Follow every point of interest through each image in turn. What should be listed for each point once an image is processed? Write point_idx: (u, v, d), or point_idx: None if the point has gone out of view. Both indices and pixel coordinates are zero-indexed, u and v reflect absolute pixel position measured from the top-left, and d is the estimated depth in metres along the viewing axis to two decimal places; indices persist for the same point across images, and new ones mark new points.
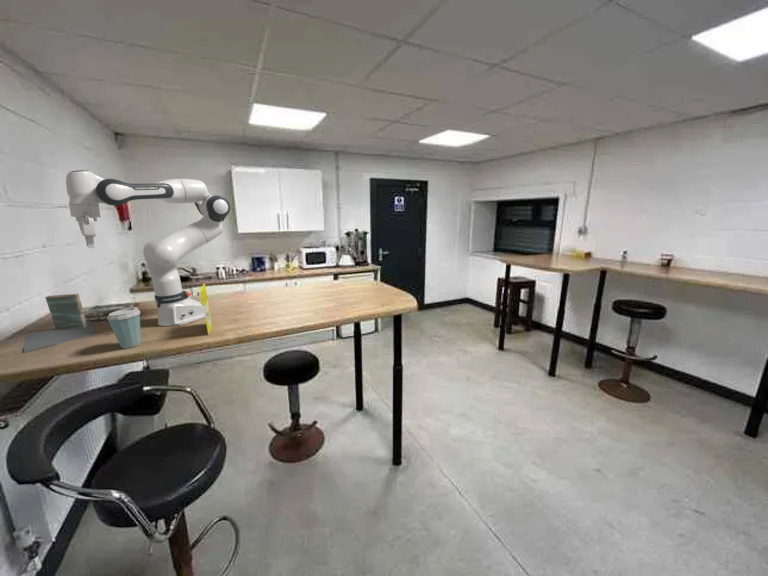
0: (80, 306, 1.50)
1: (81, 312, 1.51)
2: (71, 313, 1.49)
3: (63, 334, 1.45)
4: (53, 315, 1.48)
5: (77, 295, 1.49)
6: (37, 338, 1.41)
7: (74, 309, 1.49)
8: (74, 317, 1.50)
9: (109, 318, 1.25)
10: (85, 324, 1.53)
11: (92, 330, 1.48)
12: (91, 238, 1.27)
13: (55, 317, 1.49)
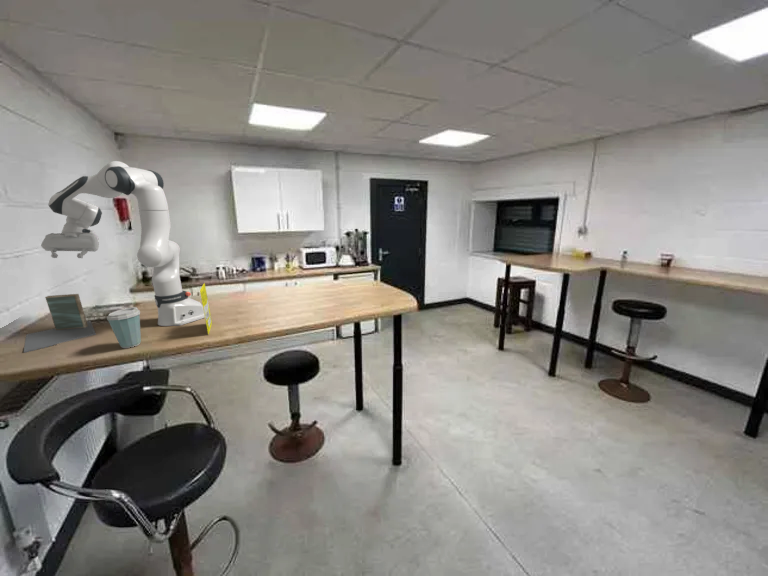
0: (80, 306, 1.50)
1: (81, 312, 1.51)
2: (71, 313, 1.49)
3: (63, 334, 1.45)
4: (53, 315, 1.48)
5: (77, 295, 1.49)
6: (37, 338, 1.41)
7: (74, 309, 1.49)
8: (74, 317, 1.50)
9: (109, 318, 1.25)
10: (85, 324, 1.53)
11: (92, 330, 1.48)
12: None
13: (55, 317, 1.49)
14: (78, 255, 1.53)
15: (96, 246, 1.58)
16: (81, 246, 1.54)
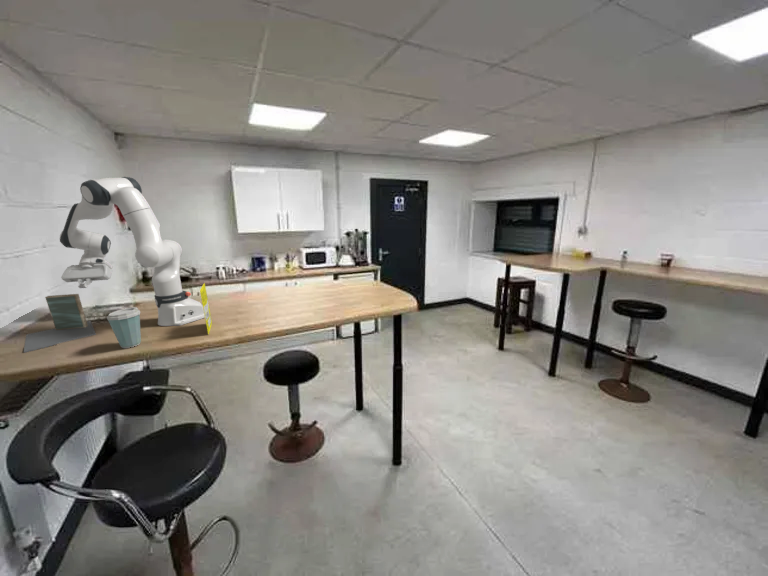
0: (80, 306, 1.50)
1: (81, 312, 1.51)
2: (71, 313, 1.49)
3: (63, 334, 1.45)
4: (53, 315, 1.48)
5: (77, 295, 1.49)
6: (37, 338, 1.41)
7: (74, 309, 1.49)
8: (74, 317, 1.50)
9: (109, 318, 1.25)
10: (85, 324, 1.53)
11: (92, 330, 1.48)
12: None
13: (55, 317, 1.49)
14: (83, 285, 1.60)
15: (108, 274, 1.65)
16: (94, 276, 1.62)
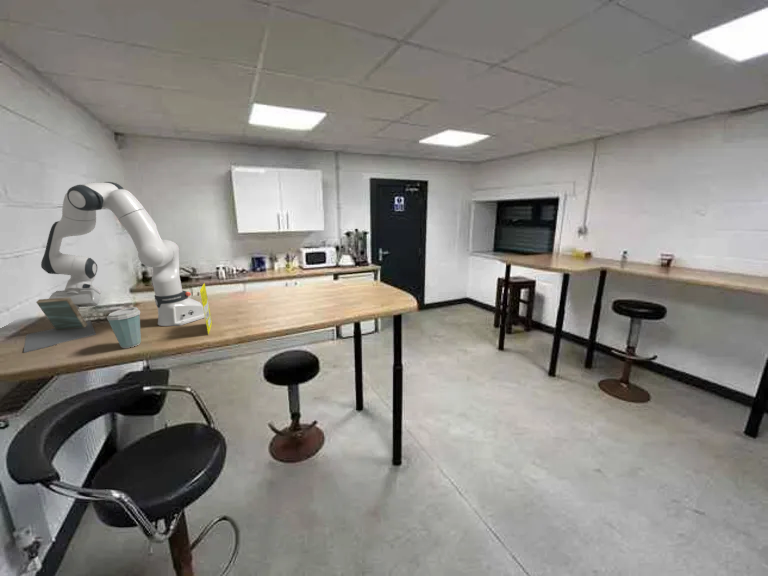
0: (75, 309, 1.47)
1: (77, 314, 1.49)
2: (67, 316, 1.47)
3: (63, 334, 1.45)
4: (49, 318, 1.46)
5: (69, 299, 1.45)
6: (37, 338, 1.41)
7: (69, 312, 1.46)
8: (71, 319, 1.49)
9: (109, 318, 1.25)
10: (84, 324, 1.52)
11: (92, 330, 1.48)
12: None
13: (52, 319, 1.47)
14: None
15: (96, 301, 1.55)
16: (81, 302, 1.52)
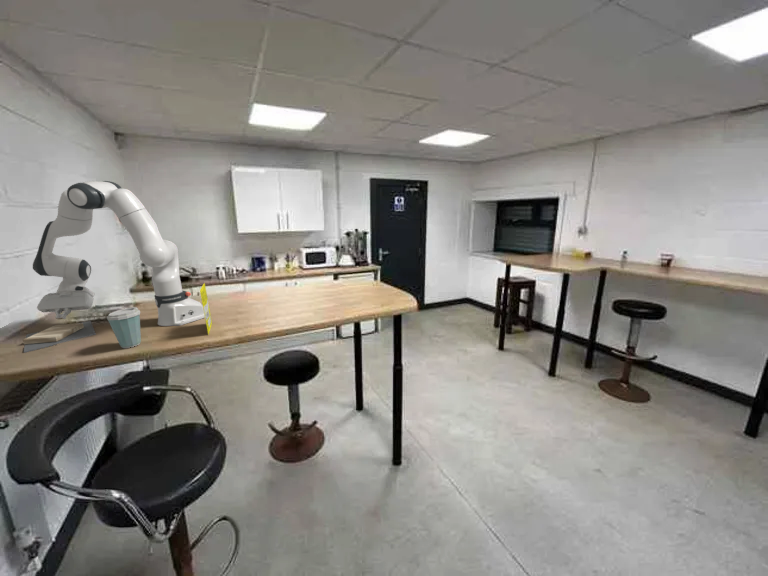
0: (66, 333, 1.42)
1: (72, 332, 1.45)
2: None
3: None
4: None
5: (57, 338, 1.37)
6: None
7: None
8: None
9: (109, 318, 1.25)
10: (81, 326, 1.50)
11: (92, 330, 1.48)
12: None
13: None
14: (60, 317, 1.46)
15: (89, 303, 1.51)
16: (73, 305, 1.48)
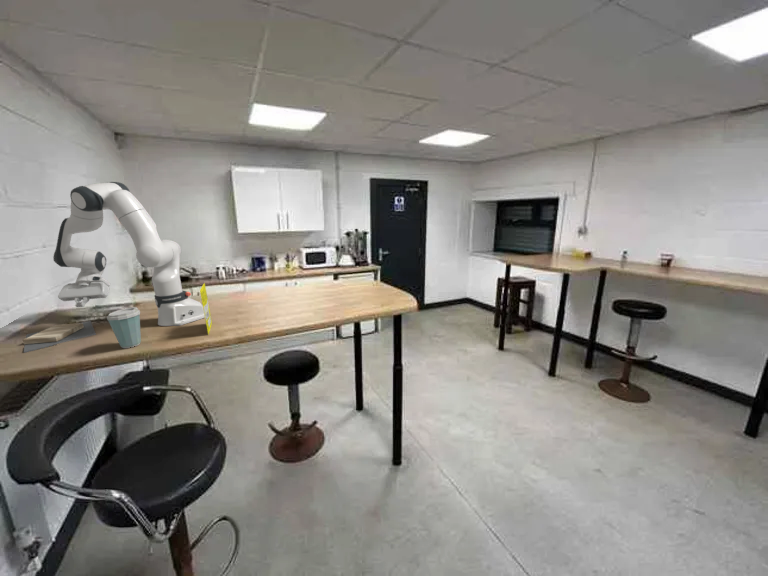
0: (66, 333, 1.42)
1: (72, 332, 1.45)
2: None
3: None
4: None
5: (57, 338, 1.37)
6: None
7: None
8: None
9: (109, 318, 1.25)
10: (81, 326, 1.50)
11: (92, 330, 1.48)
12: None
13: None
14: (80, 304, 1.57)
15: (105, 292, 1.62)
16: (91, 294, 1.59)
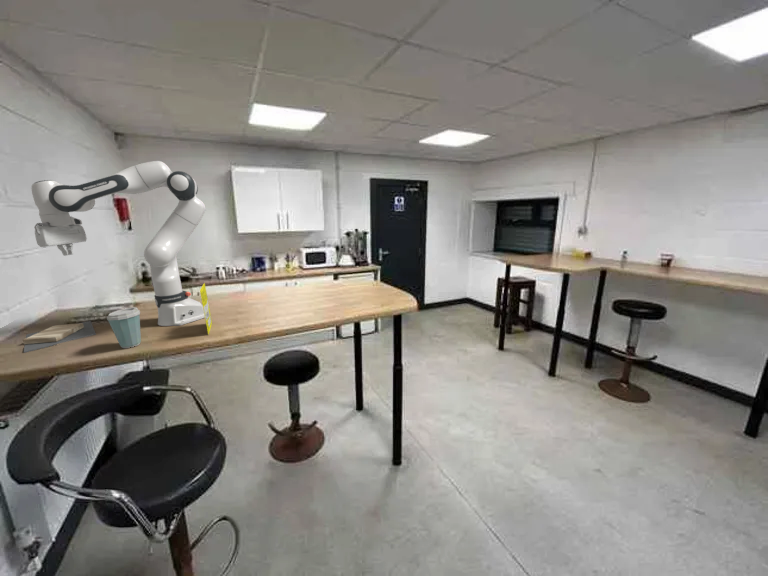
0: (66, 333, 1.42)
1: (72, 332, 1.45)
2: None
3: None
4: None
5: (57, 338, 1.37)
6: None
7: None
8: None
9: (109, 318, 1.25)
10: (81, 326, 1.50)
11: (92, 330, 1.48)
12: (61, 246, 1.34)
13: None
14: (71, 253, 1.38)
15: None
16: (78, 241, 1.41)
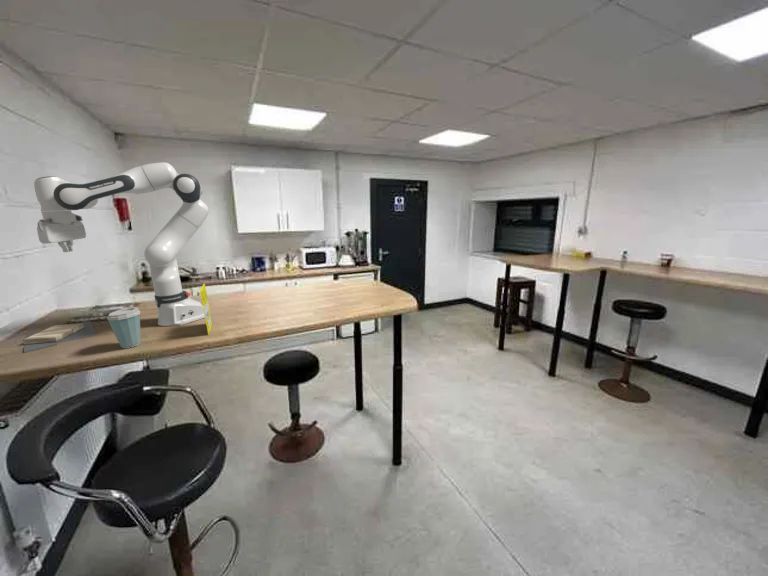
0: (66, 333, 1.42)
1: (72, 332, 1.45)
2: None
3: None
4: None
5: (57, 338, 1.37)
6: None
7: None
8: None
9: (109, 318, 1.25)
10: (81, 326, 1.50)
11: (92, 330, 1.48)
12: (62, 243, 1.33)
13: None
14: (71, 250, 1.37)
15: None
16: (78, 237, 1.40)
